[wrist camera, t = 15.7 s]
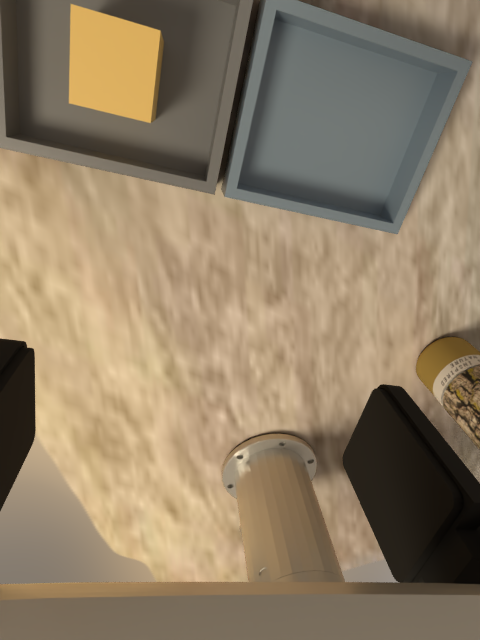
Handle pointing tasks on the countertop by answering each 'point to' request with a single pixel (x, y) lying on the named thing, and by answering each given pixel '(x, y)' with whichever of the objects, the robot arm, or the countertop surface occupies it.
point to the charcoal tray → (113, 130)
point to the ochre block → (114, 64)
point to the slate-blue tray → (337, 116)
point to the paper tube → (454, 381)
